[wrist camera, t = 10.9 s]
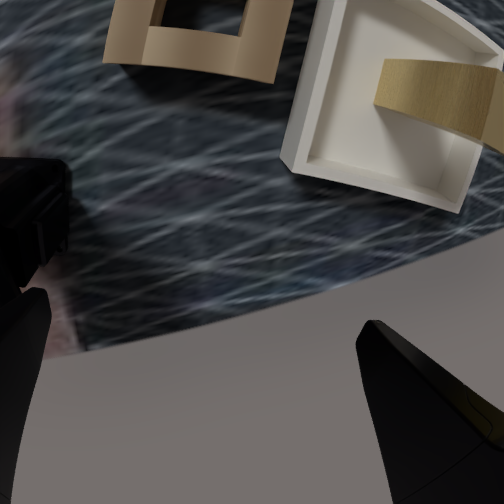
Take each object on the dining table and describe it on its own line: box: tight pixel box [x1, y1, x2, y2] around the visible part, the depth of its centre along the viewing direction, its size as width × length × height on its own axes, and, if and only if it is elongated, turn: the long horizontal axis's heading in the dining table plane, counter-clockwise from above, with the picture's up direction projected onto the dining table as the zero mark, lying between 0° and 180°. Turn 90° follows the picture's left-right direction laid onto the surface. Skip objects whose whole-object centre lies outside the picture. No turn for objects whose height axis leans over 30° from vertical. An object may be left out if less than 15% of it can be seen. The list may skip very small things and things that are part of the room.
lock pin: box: [373, 59, 504, 156], centre depth 12 cm, size 3×3×9 cm
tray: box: [280, 0, 504, 214], centre depth 15 cm, size 12×12×3 cm
